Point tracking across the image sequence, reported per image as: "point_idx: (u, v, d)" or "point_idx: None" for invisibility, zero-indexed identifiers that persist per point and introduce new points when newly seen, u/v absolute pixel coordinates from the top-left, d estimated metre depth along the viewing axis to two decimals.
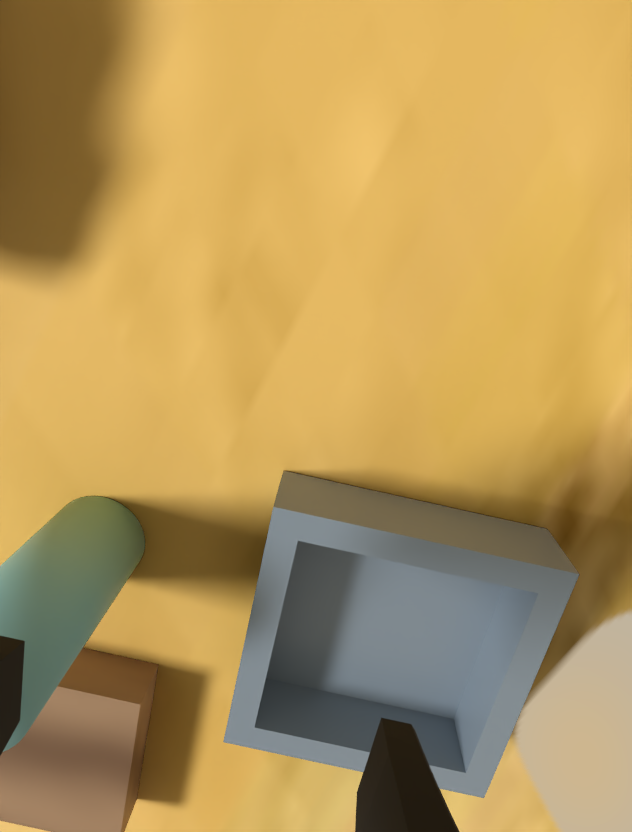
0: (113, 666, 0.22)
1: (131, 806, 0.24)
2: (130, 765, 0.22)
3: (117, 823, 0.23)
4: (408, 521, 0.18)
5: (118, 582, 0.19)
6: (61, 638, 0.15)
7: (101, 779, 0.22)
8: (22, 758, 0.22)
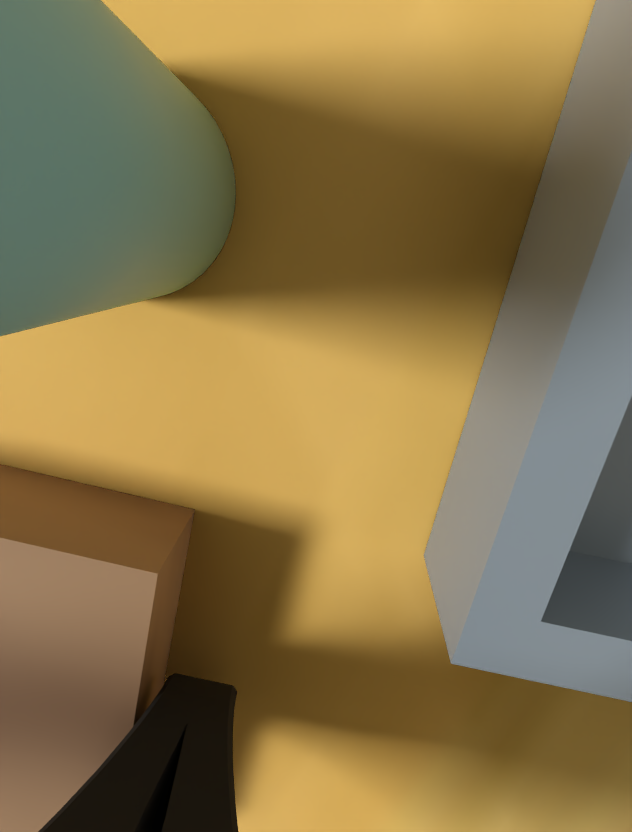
0: (95, 506, 0.10)
1: None
2: (131, 727, 0.10)
3: None
4: None
5: (192, 176, 0.06)
6: None
7: (65, 761, 0.10)
8: None
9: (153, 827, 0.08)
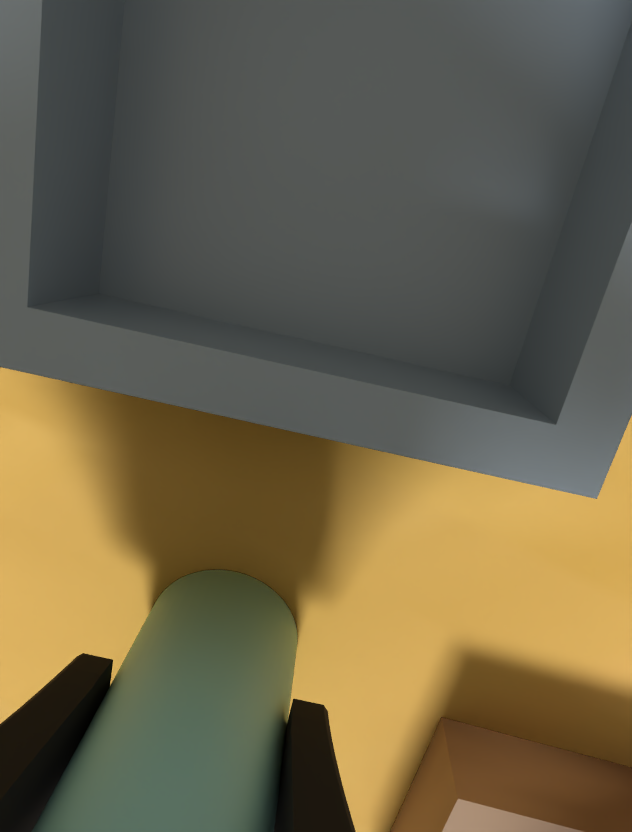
0: (422, 788, 0.13)
1: None
2: None
3: None
4: None
5: (195, 651, 0.10)
6: None
7: None
8: None
9: (38, 803, 0.08)
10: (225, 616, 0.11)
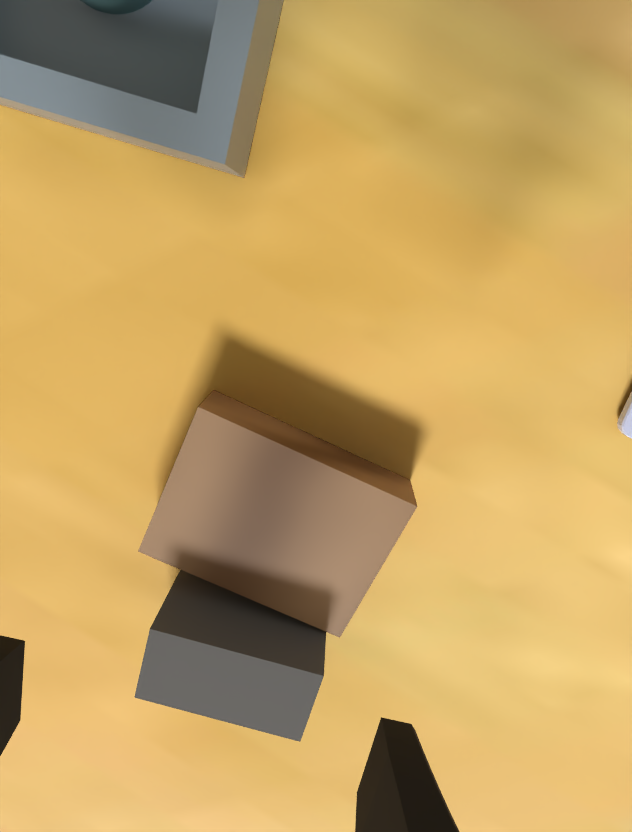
0: None
1: (396, 482, 0.19)
2: (288, 448, 0.18)
3: (378, 494, 0.18)
4: None
5: None
6: None
7: (305, 488, 0.18)
8: (260, 563, 0.19)
9: None
10: None
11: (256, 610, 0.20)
